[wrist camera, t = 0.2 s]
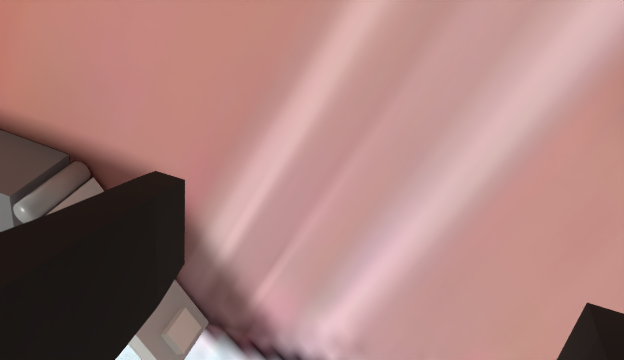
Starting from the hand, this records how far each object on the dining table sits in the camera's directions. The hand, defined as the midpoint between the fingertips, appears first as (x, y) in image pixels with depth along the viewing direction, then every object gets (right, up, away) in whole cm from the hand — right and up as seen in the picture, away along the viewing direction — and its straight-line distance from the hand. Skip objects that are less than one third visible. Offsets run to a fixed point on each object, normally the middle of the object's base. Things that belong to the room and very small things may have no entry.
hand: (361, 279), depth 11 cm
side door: (-8, -1, +16) cm, 18 cm away
